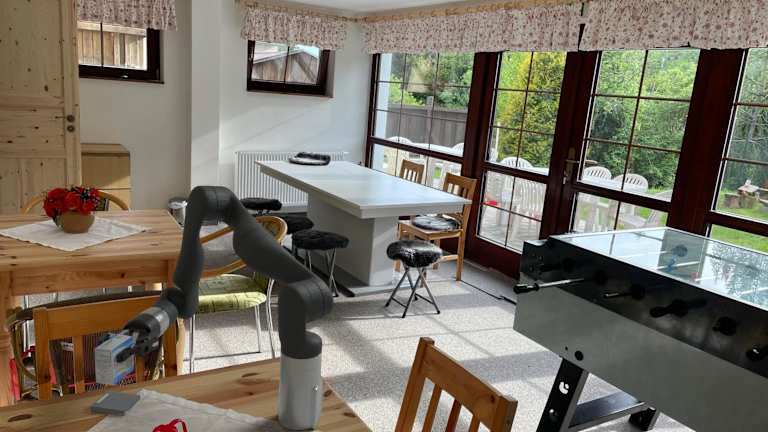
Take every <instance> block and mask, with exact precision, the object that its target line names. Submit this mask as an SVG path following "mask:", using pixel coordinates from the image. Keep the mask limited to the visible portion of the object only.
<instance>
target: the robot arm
mask: <svg viewBox="0 0 768 432" xmlns="http://www.w3.org/2000/svg"><path fill="white" fill-rule="evenodd" d="M185 207H186V209H185V214H184V221H183V222H184V223H183V230H182V238H181V239H182V240H181V246H180V252H179V255H178V259H177V262H176V264H175V268H174V272H173V275H172V284H174V285H175V286H169V287H166V288H164V289H163V290H162V292H161V293H160V295H159V297H158V299H157V300H156V302H155V303H154V304H153V305H151V306H150V307H148V308H147V309H145V310H143V311H142V312H140V313H138V314H137V315H136V316H135V317H133V318H132V319H130V320H129V321H127V322H126V324H125V326H124V327H123V328H122V330H119V331H117V332H115V333H111V330H104V331H103V333H102V334H101V335H100V337H99V338H98V339H97V341H96V342H97V346H96V347H98V346H100V345H101V344H103V343H104V342H106V341H107V340H109V339H110V338H112V337H114V336H115V335H117V334H120V335H127V336H131V337H133V341H132V343H131V344H130V345H129V346H128V347H129V348H127V347H126V348H125V349H123V350H122V351H121V352H120V353H118V354H117V363H122V362H124V361H126V360H127V359H128V358H130V357H133V356H136V355H137V357H140V358H141V357H144V356H145V355H147V354H149V353H151V352H152V351H153V352H154V351H155V350H156V349H158V348H159V338H160V337H161V336H162V335H163V334H164V333H165V332H166V330H168V329H169V328H170V327H172V325H173V324H174V323H176V321H177V320H178V319H182V320H189V319H192V318H193V317H194V315H196V313H197V311H198V308H199V304H200V303H199V301H200V299H199V297H200V293H199V291H200V290H199V289H200V282H201V281H200V280H201V278H202V275H203V272H204V268H205V265H206V253H205V250H204V247H203V244H202V240H201V234H200V233H201V229H202V227H203V224H204V222H221V223H224V224H225V225H226V226H228V227H229V228H230V230H232V232H233V233H232V248H233V251H234V254H235V255H236V256H237V257H238V258H239V259H240V260H241V261H242V263H243V264H244V265H245V266H246V267H247V268H249V269H250V270H251V271H252V272H254V273H256V274H258V275H261V276H263V277H265V278H268V279H271V280H273V281H276V282H278V283H281V284H282V285H283V286H282V287H281V288H280V290H279V293H278V298H277V333H278V339H279V343H280V355H279V356H280V357H279V382H278V383H279V384H278V386H279V387H278V388H279V389H278V411H277V414H278V417H277V419H278V423H279V424H280V425H281V426H282V427H283V428H285V429H288V430H291V431H292V430H293V431H304V430H309V429H311V430H312V429H313V430H314V429H316V427H317V425H318V423H319V420H320V418H321V415H322V407H323V406H322V405H323V404H322V403H323V402H322V401H323V381H324V379H323V377H322V360H323V359H322V358H323V357H322V356H323V339H322V337H321V336H320V335H319V334H317V333H315V332H313V331H310V330H307V324H309V323H311V322H316V321H318V320H321V319H323V318H326V317H327V316H329V315H330V314H331V313H332V311H333V309H334V306H335V305H334V304H335V300H334V296H333V294H332V293H333V292H332V291H331V289H330V287H329V286H328V284H327V283H326V282H325V281H324V280H323V279H321V278H320V277H319V276H318V275H316V274H315V273H314V272H313V271H311V270H310V269H309V268H308V267H306V266H305V265H304V264H302V263H301V262H300V261H299V260H298V259H296V258H295V257H294V255H292V254H291V253H290V252H289V251H288V250H287V249H286V248H285V247H284V246H283V245H282V244H281V243H280V242H279V241H278V240H277V239H276V238H275V236H273V235H272V234H271V233H270V232H269V231H268V230H267V229H266V228H265V227H264V226H262V224H261V223H260V222H259V221H258V220H257V219H256V218H255V217H254V216H253V215H252V214H251V213H250V212H249V211H248V210H247V208H246V207H245V206H244V204H243V203H242V202H241V200H240V199H239V198H238V197H237V195H236V194H235V193H234V192H233V191H232V190H231V189H230V188H229V187H227V186H222V185H221V186H220V185H196V186H194V187H193V188H192V189H191V191H190V192H189V195H188V197H187V201H186V206H185ZM93 353H94V354H93V356H94V357H93V358H95V350H93Z"/></svg>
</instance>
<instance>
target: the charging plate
mask: <svg viewBox="0 0 768 432" xmlns="http://www.w3.org/2000/svg"><path fill="white" fill-rule="evenodd" d="M140 399H141V394H135V393H128V392H120V391H115V390H114V391H113V390H108V391H106V392H105V393H104V394H103V395H102V396H101V397H99V398H98V399H97V400H96V401H95V402H93V403H92V404H91V405H90V411H91V412H96V413H104V414H110V415H111V414H112V413H113V414H112V415H116V414H122V415H121V416H123V415H124V414H125V413H126V412H127V411H128V410H129V411H131V410H132V409H133V408H134V407H135V406H136V405H137V404H138V403H139V402H140V401H141V400H140ZM139 400H140V401H139ZM138 401H139V402H138ZM137 402H138V403H137ZM136 403H137V404H136ZM135 404H136V405H135ZM134 405H135V406H134ZM133 406H134V407H133ZM132 407H133V408H132ZM131 408H132V409H131ZM129 411H128V412H129ZM128 412H127V413H128ZM127 413H126V414H127ZM126 414H125V415H126ZM125 415H124V416H125Z"/></svg>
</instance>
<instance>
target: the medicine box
mask: <svg viewBox="0 0 768 432" xmlns="http://www.w3.org/2000/svg"><path fill="white" fill-rule="evenodd" d="M132 341H133V337H131V336H127V335H120V334H117V335H115V336H114V337H112V338H110V339H109V340H107V341H106V342H104V343H103V344H101V345H100V346H96V347H95V348H94V350H93V351H95V357H94V364H95V367H94V368H95V381H96V383H97V384H102V385H107V386H115V385H116V384H118V383H119V382H120V381H122V380H123V379H124V378H125V377H126V376H128V375H129V374H130V373H132V372H133V371H134V370H135V360H134V359H135V357H134V356H135V355H134V356H133V357H130V358H128V359H127V360H126V361H124V362H122V363H117V354H118V353H120V352H121V351H122V350H123V349H125V348H126V347H127V348H129V347H128V346H129V345H130V344H131V343H132Z"/></svg>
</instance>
